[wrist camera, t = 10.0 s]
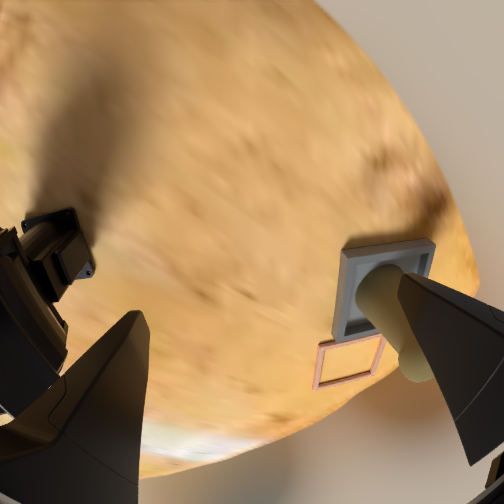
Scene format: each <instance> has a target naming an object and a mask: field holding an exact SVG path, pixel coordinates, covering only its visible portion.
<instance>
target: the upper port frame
mask: <svg viewBox="0 0 504 504" xmlns="http://www.w3.org/2000/svg"><path fill="white" fill-rule="evenodd" d="M381 336H382V337H381ZM378 337H381V340H380V343H379V346H378V349H377V352H376V355H375V358H374V361H373V363H372V366H371V369H370V371H369V372H366V373H362V374H359V375H355V376H352V377H348V378H344V379H340V380H336V381H332V382H328V383H323V384H319V379H320V373H321V367H322V361H323V355H324V350H328V349H333V348H337V347H342V346H346V345H350V344H354V343H358V342H362V341H366V340H370V339H374V338H378ZM385 343H386V339H385V338H384V337H383V335H382V334H381V333H376V334H372V335H368V336H364V337H360V338H356V339H352V340H348V341H344V342H339V343H336V342H335V341H334V342H329V343H324V344H319V345H318V351H317V359H316V366H315V373H314V380H313V387H312V389H313V391H316V390H320V389H325V388H329V387H333V386H337V385H341V384H345V383H349V382H353V381H356V380H360V379H363V378H367V377H370V376H373V375H374V373H375V371H376V368H377V366H378V363H379V360H380V357H381V355H382V352H383V349H384V346H385Z"/></svg>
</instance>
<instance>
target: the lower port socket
mask: <svg viewBox="0 0 504 504" xmlns="http://www.w3.org/2000/svg"><path fill="white" fill-rule="evenodd" d="M435 248H436V244H435V243H433V242H432V241H431V240H429V239H428V238H425V239H418V240H411V241H404V242H397V243H390V244H383V245H376V246H368V247H361V248H354V249H346V250H341V257H340V268H339V278H338V288H337V296H336V304H335V312H334V320H333V327H332V333H331V334H332V336H333V338H334V340H335V342H336V343H339V342H344V341H348V340H352V339H356V338H360V337H364V336H368V335H372V334H376V333H380V332H379V331H378V330H377V329H376V328H375V326H374V325H373V324H372V323H371V322H370V321H369V320H368V319H367V317H366V316H365V315H364V314H363V313H362V312H361V311H360V310H359V309H358V308H357V305H356V303H355V293H356V290H357V287H358V285H359V284H360V282H361V281H362V279H363V278H364V277H365V276H366V275H367V274H368V273H369V272H370V271H372V270H374V269H375V268H377V267H379V266H382V265H385V264H394V265H396V266H399V267H400V268H401V270H402V271H403V272H404V273H408V272H414V273H416V274H418V275H421V276H423V277H426V278H428V276H429V272H430V268H431V264H432V260H433V256H434V252H435Z"/></svg>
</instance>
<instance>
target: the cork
mask: <svg viewBox="0 0 504 504" xmlns="http://www.w3.org/2000/svg"><path fill="white" fill-rule="evenodd" d="M402 274H404V272H403V271H402V270H401V268H400V267H399V266H396V265H394V264H385V265H382V266H379V267H377V268H375V269H374V270H372V271H370V272H369V273H368V274H367V275H366V276H365V277H364V278H363V279H362V281H361V282H360V284H359V285H358V287H357V290H356V293H355V303H356V305H357V308H358V309H359V310H360V311H361V312H362V313H363V314H364V315H365V316H366V317H367V319H368V320H369V321H370V322H371V323H372V324H373V325H374V326H375V328H376V329H377V330H378V331H379V332H380V333H381V334H382V335H383V337H384V338H385V339H386V340H387V341H388V342H389V343H390V344H391V346H392V347H393V348H394V349H395V350H396V351H397V353H398V354H399V357H398V361H399V365H400V369H401V371H402V373H403V375H404V376H405V377H406V378H407V379H409V380H410V381H413V382H415V383H416V382H418V383H419V382H424V381H427V380H429V379H431V378H433V377H435V376H434V374H433V372H432V370H431V368H430V366H429V364H428V362H427V360H426V358H425V356H424V354H423V352H422V350H421V348H420V346H419V344H418V342H417V340H416V338H415V336H414V334H413V332H412V330H411V328H410V326H409V323H408V321H407V319H406V316H405V314H404V312H403V309H402V307H401V305H400V303H399V300H398V297H397V290H398V286H399V282H400V278H401V276H402Z"/></svg>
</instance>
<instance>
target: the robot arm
mask: <svg viewBox="0 0 504 504" xmlns="http://www.w3.org/2000/svg"><path fill="white" fill-rule="evenodd" d="M68 212H70V213H71V216H70V215H69V214H68ZM25 224H26V225H27V226H26V225H25ZM21 227H22V230H23V233H24V235H22V236H21V237H20V238H18V236H17V230H16V228H15V226H14V227H12V228H10V229H7V228H6V229H2V228H1V227H0V415H2V414H6V413H8V414H9V415H10V416H11V417H12V418H13V419H14V420H12V421H11V422H9V423H8V424H5V425H2V426H0V504H138V480H139V460H140V445H141V433H142V422H143V413H144V404H145V396H146V388H147V381H148V369H149V343H150V331H149V327H148V325H147V323H146V320H145V318H144V315H143V313H142V311H140V310H132V311H129V312H127V313H126V314H125V315H124V316H123V317H122V318H121V319H120V320H119V321H118V322H117V323H116V324H115V325H113V326H112V327H111V328H110V329H109V330H108V331H107V332H106V333H105V334H104V335H103V336H102V337H101V338H100V339H99V340H98V341H97V342H96V343H95V344H94V345H92V346H91V347H90V348H89V349H88V350H87V351H86V352H85V353H84V354H83V355H82V356H81V357H80V358H79V359H78V360H77V361H76V362H75V363H74V364H73V365H72V366H71V367H70V368H69V369H68V370H67V371H66V372H65V373H64V374H65V375H64V374H63V375H62V376H61V377H60V375H59V373H60V371H61V369H62V367H63V363H64V362H65V359H66V357H67V353H68V350H67V349H66V339H67V332H68V325H67V323H66V322H65V321H64V320H63V319H62V318H61V316H60V315H59V313H58V312H57V310H56V308H55V307H54V305H53V304H54V302H59V300H60V299H61V297H62V296H63V294H64V293H65V291H66V290H67V288H68V287H69V285H72V283H73V282H74V281H75V280H76V279H85V278H91V277H92V276H93V275H94V273H95V271H94V268H93V265H92V263H91V260H90V255H89V252H88V249H87V246H86V243H85V240H84V237H83V233H82V231H81V230H80V227H79V223H78V220H77V216H76V213H75V210H74V209H73V208H72V207H67V208H63V209H59V210H56V211H52V212H48V213H44V214H41V215H37V216H34V217H30V218H27V219H25V220H23V221H22V222H21ZM88 271H90V273H89V272H88ZM397 297H398V300H399V303H400V305H401V307H402V309H403V312H404V314H405V316H406V319H407V321H408V323H409V326H410V328H411V330H412V332H413V334H414V336H415V338H416V340H417V342H418V344H419V346H420V348H421V350H422V352H423V354H424V356H425V358H426V360H427V362H428V364H429V366H430V368H431V370H432V372H433V374H434V376H435V378H436V381H437V383H438V385H439V387H440V389H441V391H442V394H443V396H444V398H445V401H446V403H447V405H448V408H449V410H450V413H451V415H452V417H453V420H454V423H455V426H456V428H457V431H458V433H459V436H460V439H461V442H462V445H463V447H464V451H465V453H466V456H467V459H468V463H469V465H470V466H472V465H474V464H475V463H476V462H478V461H479V460H481V459H482V458H484V457H485V456H486V455H488V454H489V453H490V452H492V451H493V450H494V449H495V448H497V447H498V446H499V445H500V444H502V443H503V442H504V312H503V311H501V310H499V309H497V308H495V307H492V306H490V305H487V304H486V303H483V302H481V301H479V300H477V299H475V298H472V297H470V296H468V295H466V294H463V293H461V292H459V291H456V290H454V289H452V288H449V287H447V286H445V285H442V284H440V283H438V282H435V281H433V280H431V279H428V278H426V277H423V276H421V275H418V274H416V273H414V272H408V273H404V274H402V276H401V278H400V282H399V286H398V290H397ZM50 386H51V387H50ZM49 387H50V388H49ZM48 388H49V389H48ZM485 488H486V490H485V491H483V492H482V493H481V494H479V495H478V496H477V497H476V498H474V499H473V500H472V501H470V502H469V503H467V504H504V451H503V452H502V453H500V454H499V455H498V456H497V457H496V458H495V459H494V460H493V461H492V464H491V468H490V471H489V475H488V479H487V482H486V485H485Z"/></svg>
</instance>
